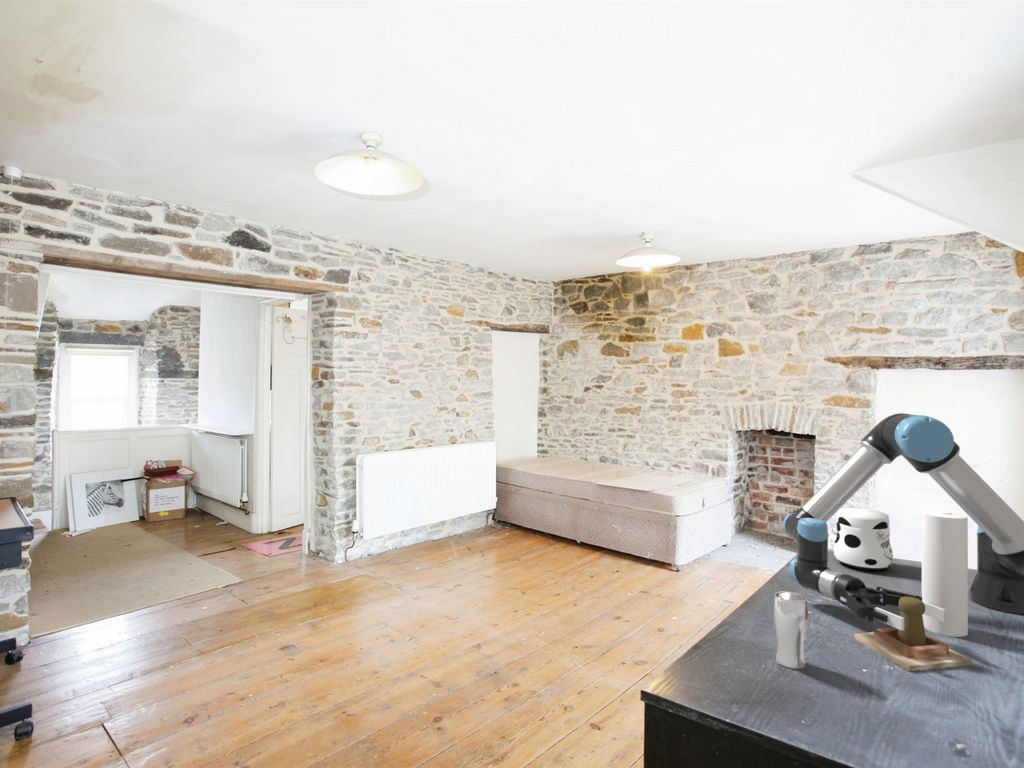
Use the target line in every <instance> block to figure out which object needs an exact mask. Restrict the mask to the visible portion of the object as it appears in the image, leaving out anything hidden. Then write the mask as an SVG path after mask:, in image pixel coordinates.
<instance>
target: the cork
mask: <svg viewBox="0 0 1024 768" xmlns="http://www.w3.org/2000/svg"><path fill="white" fill-rule="evenodd" d="M898 608H899V610H900V611H901V612H900V615H899V616H900V617H903V618H904V630H899V629H898V635H897V640H898V641H900V642H901V643H903V644H905V645H907V646H909V647H916V646H927V642H926V636H925V634H926V631H925V629H926V628H924V622H923V616H922V615H923V614H924V613H925V604H924V603H923V602H922V601H921V600H919V599H917V598H913V597H902V598H900V600H899V606H898Z"/></svg>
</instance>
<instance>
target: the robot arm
mask: <svg viewBox="0 0 1024 768" xmlns="http://www.w3.org/2000/svg"><path fill="white" fill-rule="evenodd" d="M859 444H860V447H859V448H858V449H857V450H856V451H854V453H853V454H852V455H851V456H850V457H849V458H848V459H847V460H846V461H845V462H844V463H843V464H841V466H840V467H839V468H838V469H837V471H835V472H834V473H833V475H832V476H830V477H829V478H828V479H827V480H826V482H825V483H824V484H823V485H822V486H821V487H820V488H819V489H817V491H816V492H815V493H814V494H813V495H812V496H811V497H810V498H809V499H808V500H807V501H806V502H805V503H804V504H803V505H802V506H801V507H800V508H799V509H798V510H797V511H796V512H792V513H788V514H787V515H786V516H785V517H784V519H783V523H782V524H783V525H782V527H783V529H784V531H785V533H786V535H787V536H788V537H789V538H790V539H792V541H794V542H795V543H796V544H797V557H795V558H793V559H792V560H791V561H790V562H789V564H790V565H789V566H788V568H787V571H788V576H789V578H790V580H792V582H793V583H796V584H797V585H800V586H801V587H803V588H804V589H808V590H810V591H813V592H816V593H818V594H821V595H822V596H825V597H827V598H830V599H831V600H832V601H837V602H838V603H840V604H842V605H844V606H846V607H847V608H848V609H850V610H851V611H852V612H853V613H854V614H855V615H856V616H858V617H859V618H860V619H866V618H867V621H868V622H871V623H873V622H874V620H876V621H878V622H881V623H883V624H885V625H888V626H891V628H892V627H895V628H897V629H899V630H904V618H903V617H900V616H901V615H898V614H895V613H892V612H890V611H888V610H885V609H882V608H880V607H874V606H881V607H882V606H883V607H887V605H889V606H894V607H899V600H900V598H902V597H913V598H917V599H919V600H921V601H922V596H920V595H919V594H918V595H914V594H910V593H905V592H901V591H895V590H891V589H889V588H888V589H887V588H884V587H881V586H876V589H875V588H873V587H867V586H866V585H865V583H864V581H863V580H862V579H860V578H859V577H856V576H853V575H851V574H847V573H846V572H842V571H840V570H838V569H837V570H836V569H834V568H831V567H830V566H828V564H829V563H828V555H829V549H828V548H829V530H828V529H829V528H828V523H827V522H828V521H830V519H831V518H832V517H833V516H834V515H835V514H837V511H838V510H839V509H842V507H843V506H844V505H845V504H846V503H847V502H848V501H849V500H850V499H851V498H852V497H853V496H854V495H855V494H856V493H857V492H858V491H859V490H861V488H863V486H864V485H865V484H866V483H867V482H868V481H869V480H870V479H871V478H872V477H873V476H874V475H875V474H876V473H877V472H878V471H879V470H880V469H881V468H882V467H883V466H884V465H886V464H887V465H888V464H889V465H890V464H892V462H894V461H895V460H896V459H897V458H898V457H900V456H902V457H903V458H904V459H905V460H906V461H907V462H908V463H909V464H910V465H911V466H912V467H913V468H914V469H915V471H917V472H918V473H920V474H928V475H929V476H930V477H931V478H932V479H933V480H934V481H935V482H936V483H937V484H938V486H939V487H941V489H942V490H943V491H944V492H945V493H946V494H947V495H948V496H949V497H950V498H951V499H952V500H953V501H954V502H955V503H956V504H957V505H958V506H959V507H960V509H962V511H964V512H965V514H966V515H967V516H969V517H970V518H971V520H972V521H973V522H974V523H975V524H976V525H977V532H976V536H977V537H976V538H977V541H976V542H977V553H976V554H977V560H976V561H977V569H976V570H977V571H976V574H975V577H974V579H973V581H972V583H971V585H970V588H969V599H971V601H972V602H974V603H976V604H978V605H980V606H983V607H986V608H989V609H992V610H996V611H1001V612H1005V613H1011V614H1018V615H1024V520H1023V519H1022V518H1021V517H1020V516H1019V515H1018V513H1016V512H1015V511H1014V509H1013V508H1012V507H1011V506H1010V505H1008V503H1006V501H1005V500H1004V499H1002V497H1001V496H1000V495H999V494H998V493H997V492H996V491H995V490H994V489H993V488H992V487H991V486H990V485H989V484H988V483H987V482H986V481H985V480H984V478H982V477H981V476H980V475H979V474H978V472H976V471H975V470H974V469H973V468H972V466H971V465H970V464H969V463H967V462H966V460H964V459H963V458H962V456H961V455H960V452H961V447H960V445H959V444H958V443H957V442H955V438H954V434H953V433H952V430H951V429H950V428H949V427H948V425H947V424H945V423H944V422H942V421H940V419H937V418H934V417H931V416H929V415H928V416H927V415H924V414H923V415H919V414H909V413H905V412H904V413H902V412H901V413H894V414H891V415H888V416H886V417H885V418H883V419H881V420H880V421H879V422H878V423H877V424H876V425H874V427H873V428H872V429H871V430H870V431H869V432H868V433H867V434H866V435H865V436H864V437H863V438H862V439H861V440H860V441H859ZM922 602H923V601H922ZM923 603H924V604H925V613H924V614H925V615H927V616H930V617H932V618H935V619H938V620H940V621H943V622H945V621H946V610H945V609H942V608H939V607H937V606H934V605H931V604H928V603H926V602H923Z"/></svg>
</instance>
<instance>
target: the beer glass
mask: <svg viewBox="0 0 1024 768" xmlns="http://www.w3.org/2000/svg"><path fill="white" fill-rule="evenodd" d="M807 600H808V598H807V597H806V596H805V595H803V594H801V593H798V592H794V591H787V590H781V591H777V592H775V593H774V601H773V621H774V622H773V623H774V628H775V634H776V639H777V649H776V653H775V661H776V662H777V663H778V664H779V665H780V664H781V666H782V665H783V666H782V667H784V666H785V668H787V667H788V669H794V670H800V669H803V668H805V667H806V664H807V663H806V658H805V653H804V651H805V649H804V648H805V642H806V641H805V640H806V636H807V630H808V624H809V613H808V601H807Z"/></svg>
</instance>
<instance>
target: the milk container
mask: <svg viewBox="0 0 1024 768" xmlns="http://www.w3.org/2000/svg"><path fill="white" fill-rule="evenodd" d="M835 525H836V527H835V529H836V536H835V539H834V541H833V554H834V558H835V559H836V560H837V561H838V562H839V563H840V564H843V565H845V566H847V567H851V568H855V569H861V570H867V571H880V570H886V569H888V568H890V567H891V565H892V563H893V559H894V558H893V557H894V554H893V549H892V545H891V542H890V541H891V539H890V536H891V535H890V533H891V528H890V517H889V514H887V513H884V512H881V511H879V510H874V509H866V508H856V507H853V508H852V507H851V508H850V507H845V508H840V509H839V510H838V511H837V512H836V523H835Z"/></svg>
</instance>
